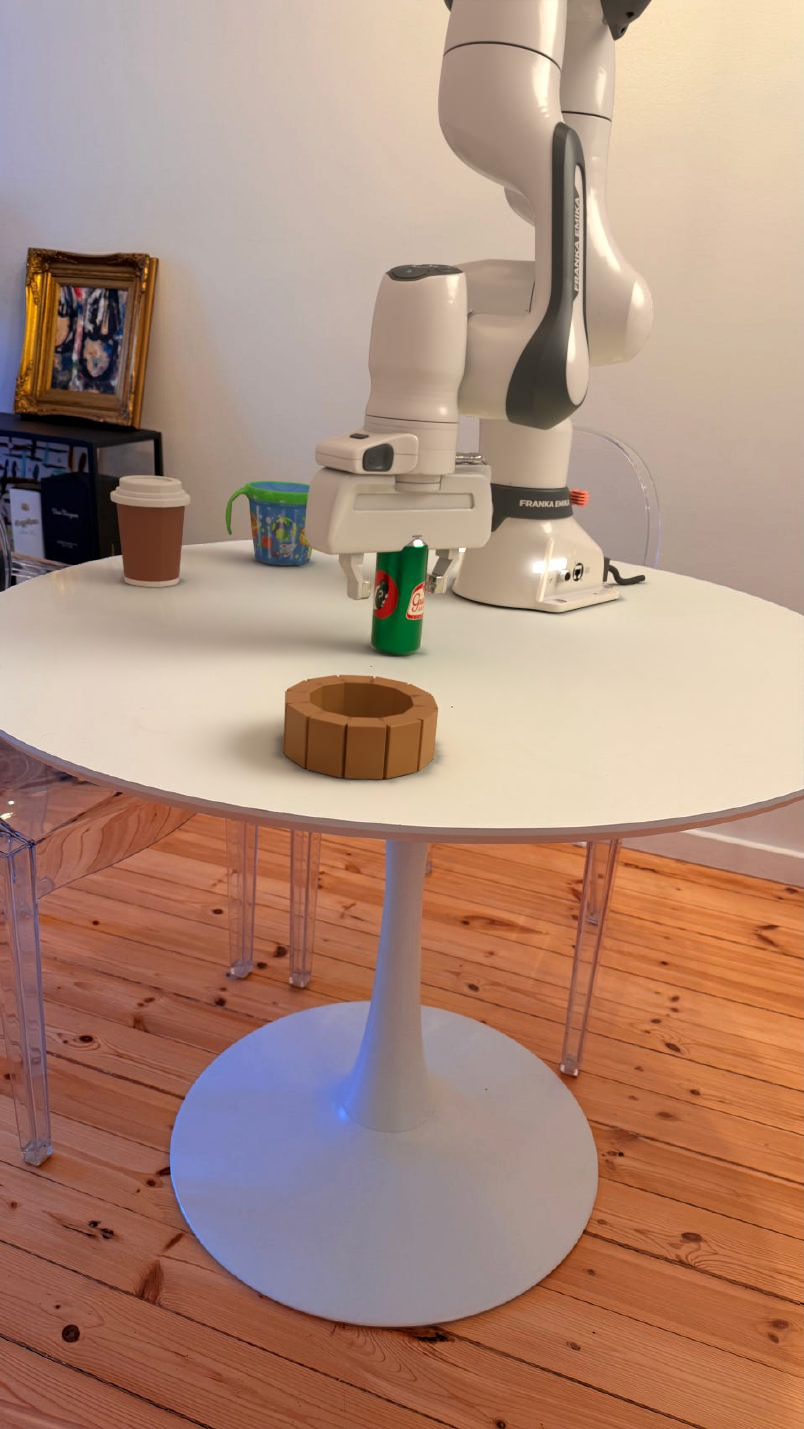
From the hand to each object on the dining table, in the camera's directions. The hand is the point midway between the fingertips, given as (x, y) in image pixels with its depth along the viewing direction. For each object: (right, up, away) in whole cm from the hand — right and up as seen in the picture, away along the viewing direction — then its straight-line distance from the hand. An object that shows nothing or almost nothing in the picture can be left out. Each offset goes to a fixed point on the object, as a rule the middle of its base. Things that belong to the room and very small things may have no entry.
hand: (397, 595), depth 97 cm
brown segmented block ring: (-3, -14, -23) cm, 27 cm away
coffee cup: (-30, +4, +22) cm, 37 cm away
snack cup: (-16, +9, +38) cm, 42 cm away
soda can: (0, -5, +3) cm, 6 cm away
